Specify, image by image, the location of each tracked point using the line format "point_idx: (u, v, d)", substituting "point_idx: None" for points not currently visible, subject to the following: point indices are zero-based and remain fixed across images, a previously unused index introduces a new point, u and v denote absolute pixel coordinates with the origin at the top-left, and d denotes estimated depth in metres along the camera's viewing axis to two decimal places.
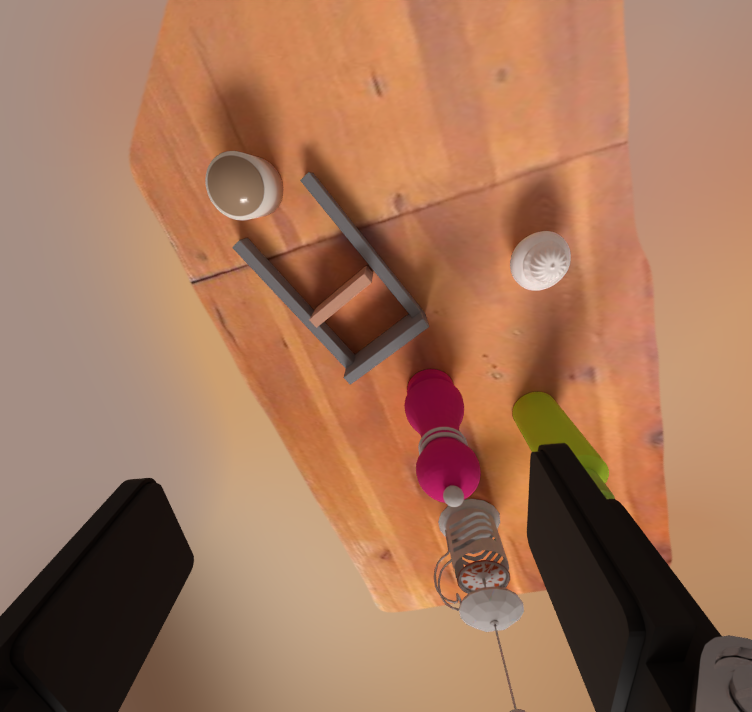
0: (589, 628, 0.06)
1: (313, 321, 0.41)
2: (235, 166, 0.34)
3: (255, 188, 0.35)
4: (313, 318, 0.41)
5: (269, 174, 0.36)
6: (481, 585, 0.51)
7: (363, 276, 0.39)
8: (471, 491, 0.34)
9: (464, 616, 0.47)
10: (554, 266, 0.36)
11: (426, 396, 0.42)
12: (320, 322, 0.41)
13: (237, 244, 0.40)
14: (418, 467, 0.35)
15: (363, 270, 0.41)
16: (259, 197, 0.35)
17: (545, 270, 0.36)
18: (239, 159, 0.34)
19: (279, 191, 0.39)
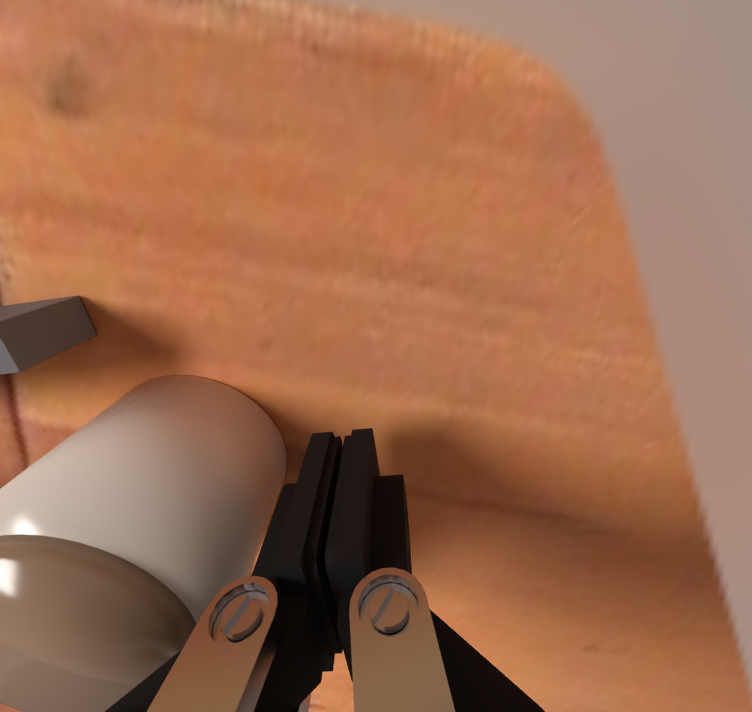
0: None
1: None
2: None
3: (28, 696, 0.08)
4: None
5: None
6: None
7: None
8: None
9: None
10: None
11: None
12: None
13: (2, 353, 0.08)
14: None
15: None
16: None
17: None
18: None
19: None
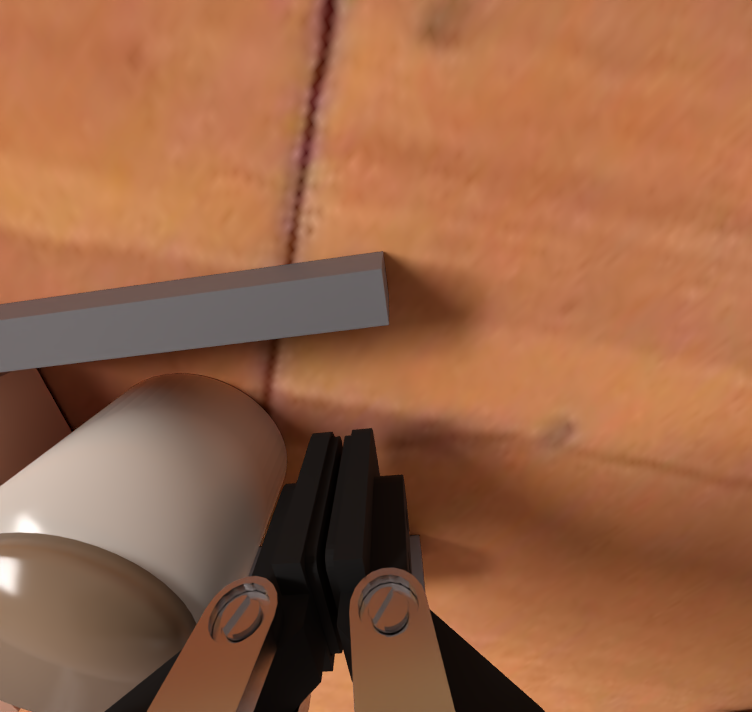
0: None
1: None
2: None
3: (29, 694, 0.08)
4: None
5: None
6: None
7: (8, 707, 0.10)
8: None
9: None
10: None
11: None
12: None
13: (378, 303, 0.08)
14: None
15: None
16: None
17: None
18: None
19: None
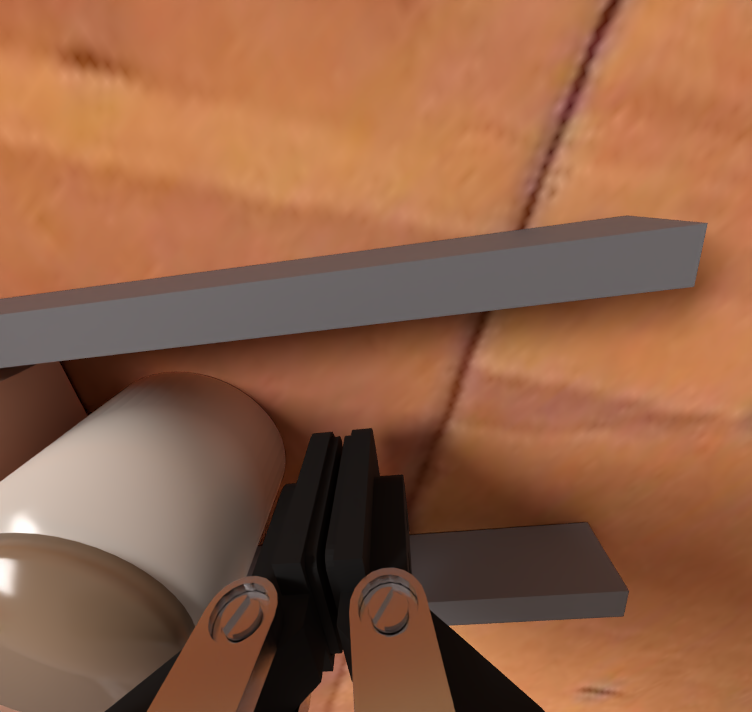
0: None
1: None
2: (131, 689, 0.07)
3: (22, 695, 0.08)
4: None
5: None
6: None
7: None
8: None
9: None
10: None
11: None
12: None
13: (691, 262, 0.07)
14: None
15: None
16: None
17: None
18: None
19: None
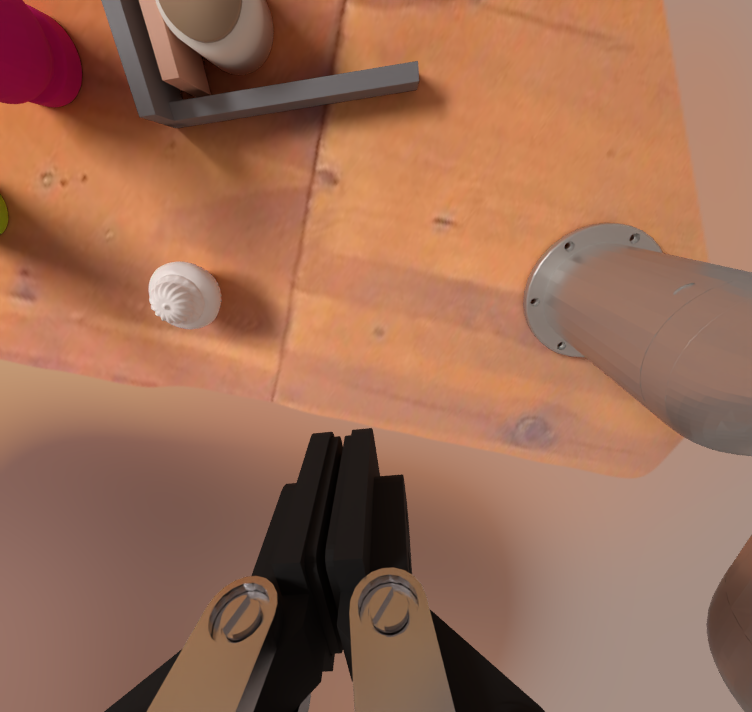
0: None
1: None
2: (220, 10, 0.23)
3: (183, 19, 0.23)
4: None
5: (211, 57, 0.26)
6: None
7: (175, 74, 0.25)
8: None
9: None
10: (165, 308, 0.30)
11: None
12: None
13: None
14: None
15: (197, 83, 0.28)
16: (170, 15, 0.23)
17: (164, 297, 0.30)
18: (226, 24, 0.23)
19: None
